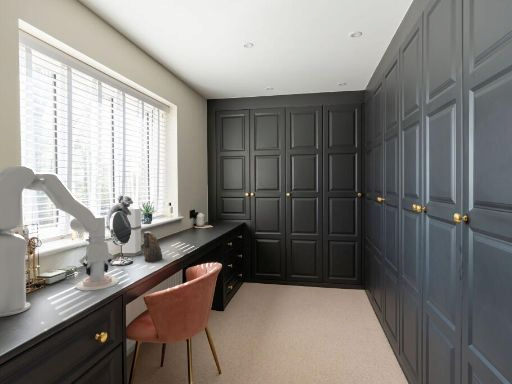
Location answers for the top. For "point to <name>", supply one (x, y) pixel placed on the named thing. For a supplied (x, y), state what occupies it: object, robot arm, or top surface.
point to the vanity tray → (80, 287)
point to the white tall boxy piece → (134, 234)
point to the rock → (151, 248)
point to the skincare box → (97, 271)
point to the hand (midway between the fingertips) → (97, 273)
